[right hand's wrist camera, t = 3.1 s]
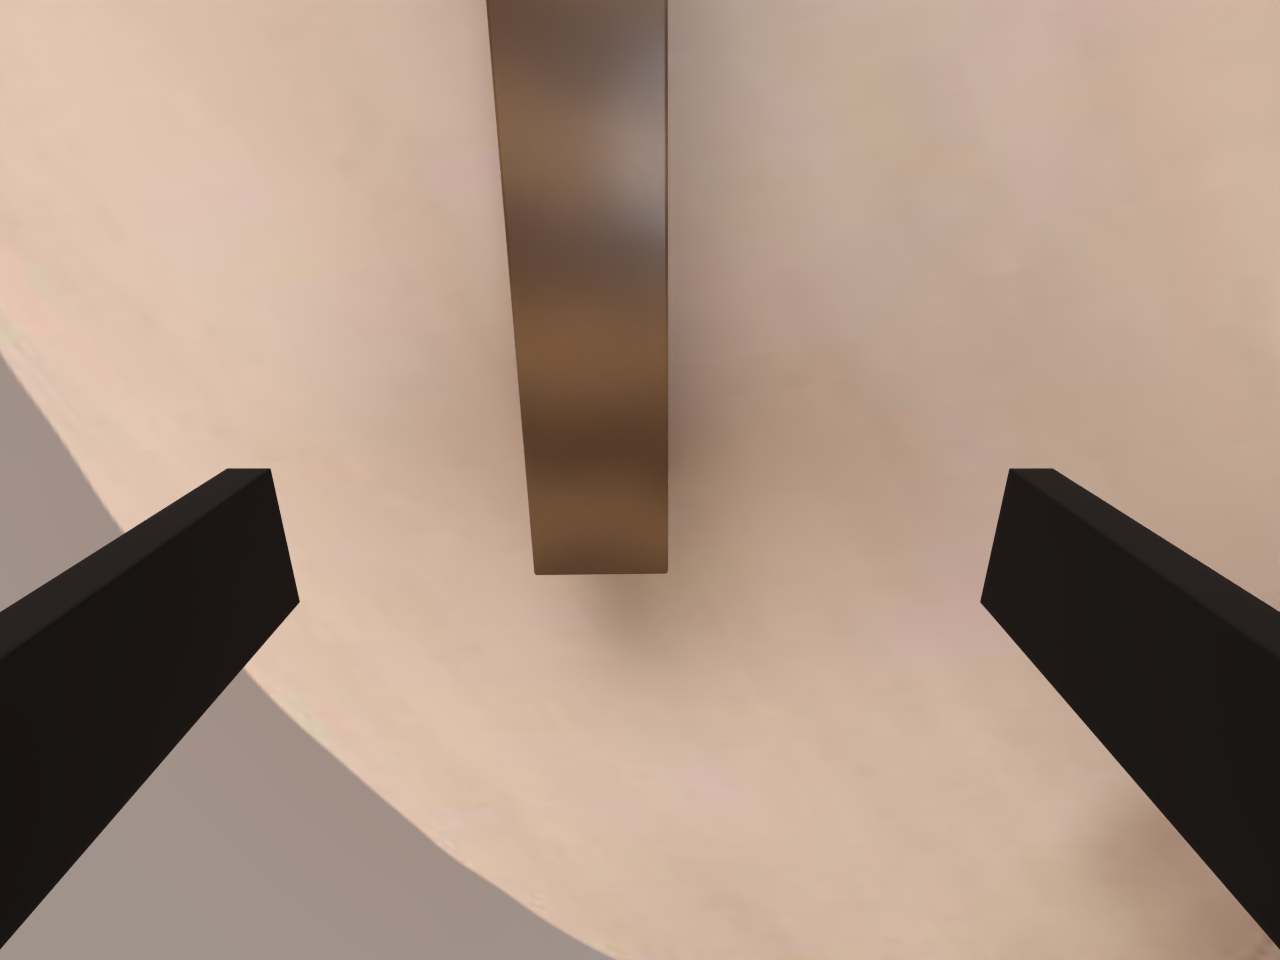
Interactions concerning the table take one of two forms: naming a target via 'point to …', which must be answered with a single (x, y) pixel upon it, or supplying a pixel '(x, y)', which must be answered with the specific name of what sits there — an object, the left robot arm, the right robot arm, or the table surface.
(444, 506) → the table surface
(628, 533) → the post
